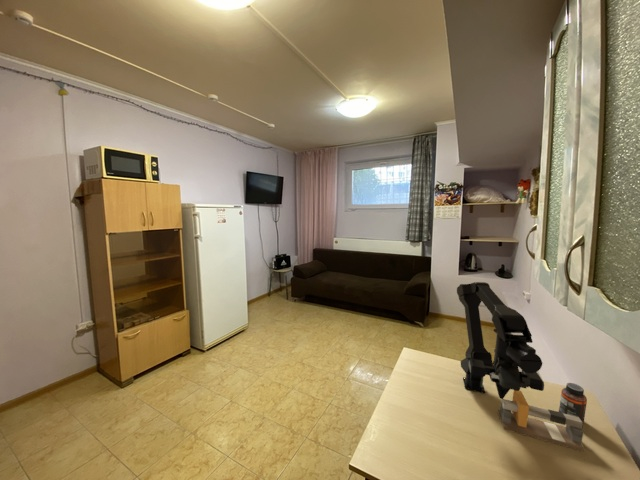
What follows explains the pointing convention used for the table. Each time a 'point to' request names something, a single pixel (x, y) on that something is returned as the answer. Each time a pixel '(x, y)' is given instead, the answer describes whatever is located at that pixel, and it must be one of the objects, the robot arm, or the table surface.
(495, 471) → the table surface
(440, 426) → the table surface
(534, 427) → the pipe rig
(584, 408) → the supplement bottle
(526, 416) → the collar
